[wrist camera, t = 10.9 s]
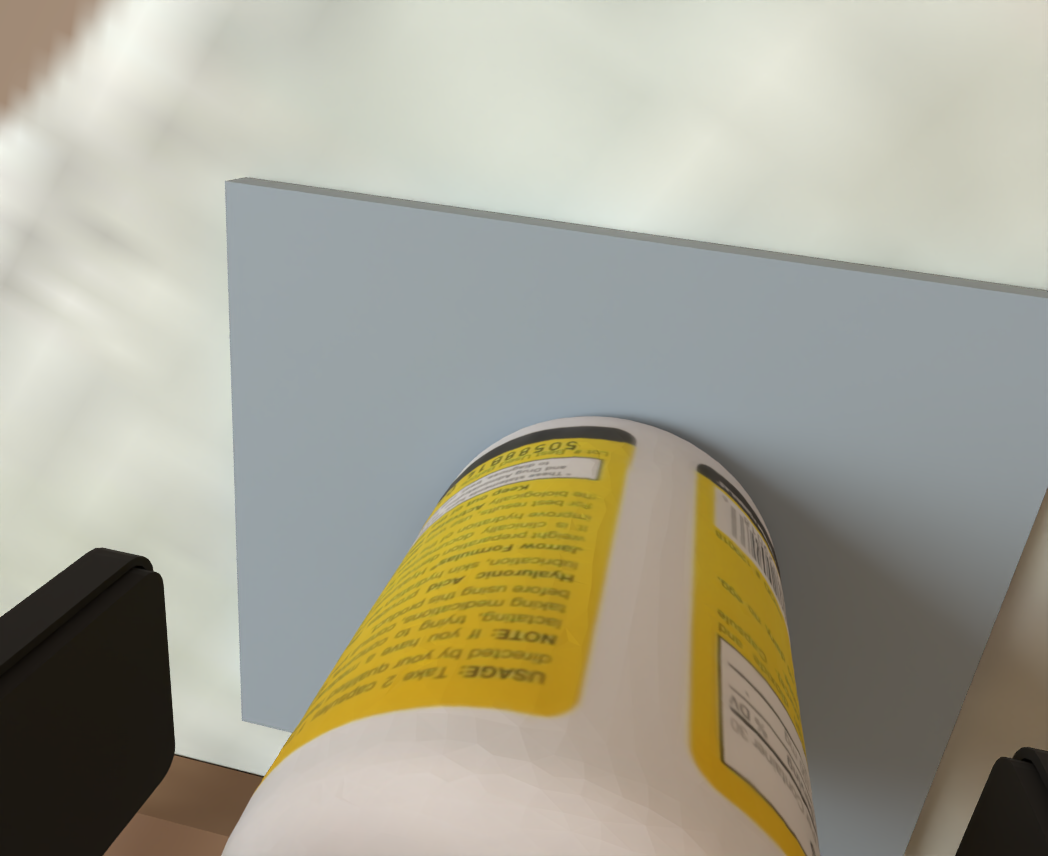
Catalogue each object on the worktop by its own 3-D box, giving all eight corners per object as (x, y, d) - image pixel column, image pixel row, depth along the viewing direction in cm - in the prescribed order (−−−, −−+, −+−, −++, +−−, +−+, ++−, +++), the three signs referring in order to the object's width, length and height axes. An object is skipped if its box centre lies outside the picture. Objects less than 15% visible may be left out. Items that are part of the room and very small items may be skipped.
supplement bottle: (392, 618, 14) (-118, 1462, 6) (510, 345, 12) (-27, 1031, 3) (677, 758, 14) (621, 1855, 5) (851, 508, 12) (1241, 1681, 3)
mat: (1097, 297, 11) (1117, 308, 10) (887, 850, 15) (894, 878, 14) (245, 177, 13) (224, 181, 12) (257, 700, 17) (242, 720, 16)
